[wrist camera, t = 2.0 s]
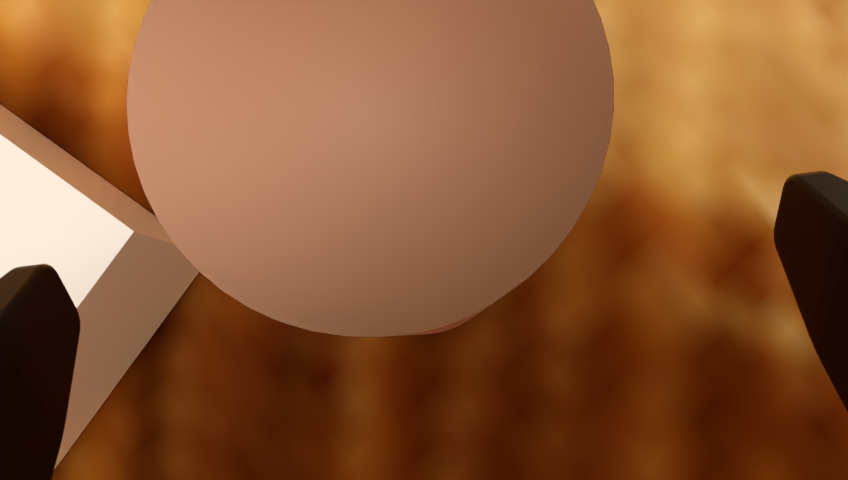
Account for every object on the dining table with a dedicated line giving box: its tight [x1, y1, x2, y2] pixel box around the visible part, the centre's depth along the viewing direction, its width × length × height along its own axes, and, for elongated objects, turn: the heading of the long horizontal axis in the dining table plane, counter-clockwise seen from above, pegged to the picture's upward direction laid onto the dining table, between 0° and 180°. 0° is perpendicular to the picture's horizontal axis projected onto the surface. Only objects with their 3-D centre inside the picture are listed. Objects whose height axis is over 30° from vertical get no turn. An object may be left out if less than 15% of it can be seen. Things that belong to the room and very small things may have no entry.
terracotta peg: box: [127, 0, 614, 337], centre depth 12 cm, size 4×4×12 cm
